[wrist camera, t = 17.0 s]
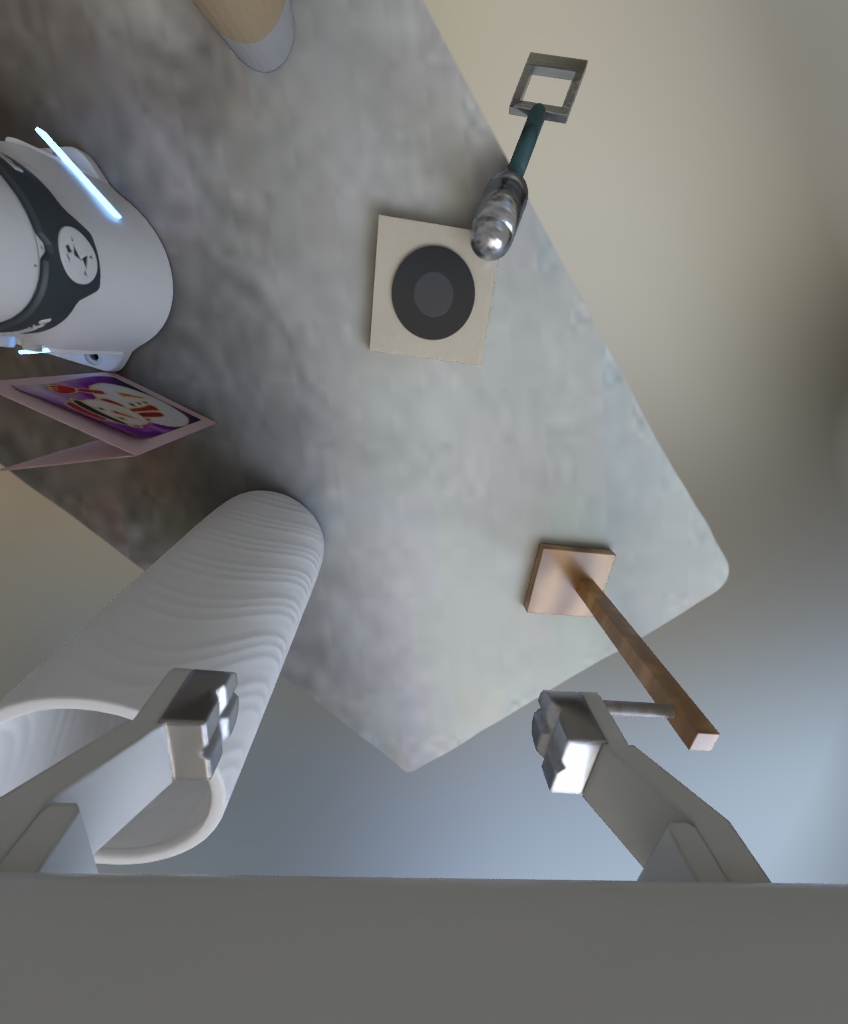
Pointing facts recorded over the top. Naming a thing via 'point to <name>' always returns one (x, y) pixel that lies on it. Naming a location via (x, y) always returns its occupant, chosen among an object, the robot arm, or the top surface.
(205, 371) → the top surface
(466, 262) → the hot plate
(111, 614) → the vase
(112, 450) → the greeting card
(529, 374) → the top surface
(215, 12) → the coffee cup
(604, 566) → the hook stand
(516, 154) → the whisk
